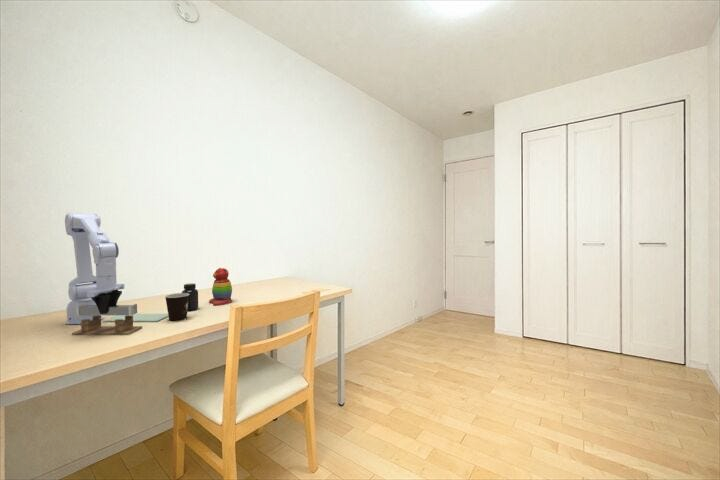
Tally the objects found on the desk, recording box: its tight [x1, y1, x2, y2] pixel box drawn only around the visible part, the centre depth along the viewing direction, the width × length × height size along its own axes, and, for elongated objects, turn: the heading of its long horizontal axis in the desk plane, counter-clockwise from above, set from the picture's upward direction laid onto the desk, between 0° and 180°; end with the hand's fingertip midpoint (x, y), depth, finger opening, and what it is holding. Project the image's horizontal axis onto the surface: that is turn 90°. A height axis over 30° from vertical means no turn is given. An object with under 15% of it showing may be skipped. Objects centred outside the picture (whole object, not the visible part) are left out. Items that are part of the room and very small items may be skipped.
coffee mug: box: [165, 292, 189, 322], centre depth 129 cm, size 12×9×10 cm
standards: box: [71, 315, 143, 336], centre depth 112 cm, size 20×7×5 cm, turn 91°
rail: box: [77, 303, 138, 316], centre depth 112 cm, size 19×3×3 cm, turn 91°
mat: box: [102, 313, 169, 323], centre depth 128 cm, size 22×10×1 cm, turn 91°
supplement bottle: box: [181, 283, 199, 312], centre depth 142 cm, size 7×7×12 cm
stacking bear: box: [208, 267, 233, 307], centre depth 155 cm, size 11×10×18 cm
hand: (107, 312), depth 112 cm, fingers closed on rail, 3 cm apart
